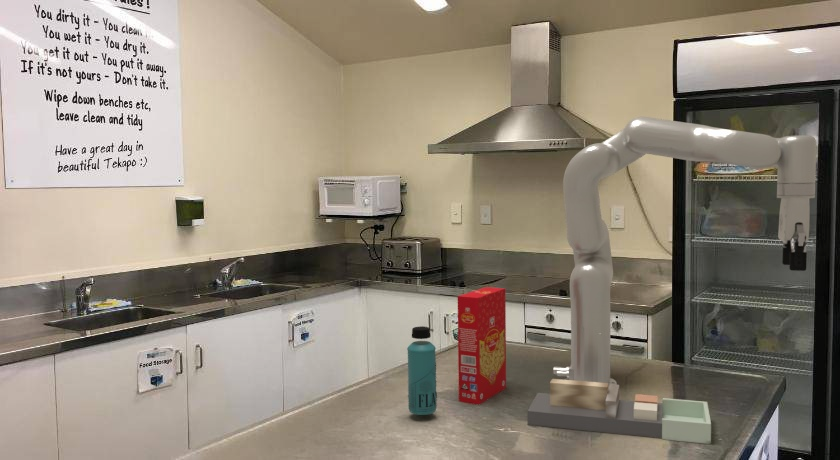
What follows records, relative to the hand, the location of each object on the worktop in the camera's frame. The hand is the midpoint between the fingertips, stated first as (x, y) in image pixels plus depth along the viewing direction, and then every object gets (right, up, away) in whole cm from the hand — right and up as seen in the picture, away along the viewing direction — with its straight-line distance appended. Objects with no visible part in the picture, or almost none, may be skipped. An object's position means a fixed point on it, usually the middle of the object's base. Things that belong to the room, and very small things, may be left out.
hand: (793, 267), depth 159 cm
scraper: (-48, -30, -7) cm, 57 cm away
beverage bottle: (-84, -33, -3) cm, 90 cm away
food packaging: (-69, -32, +12) cm, 77 cm away
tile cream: (-38, -30, -14) cm, 50 cm away
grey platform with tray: (-42, -33, -9) cm, 54 cm away
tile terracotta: (-36, -29, -8) cm, 47 cm away
